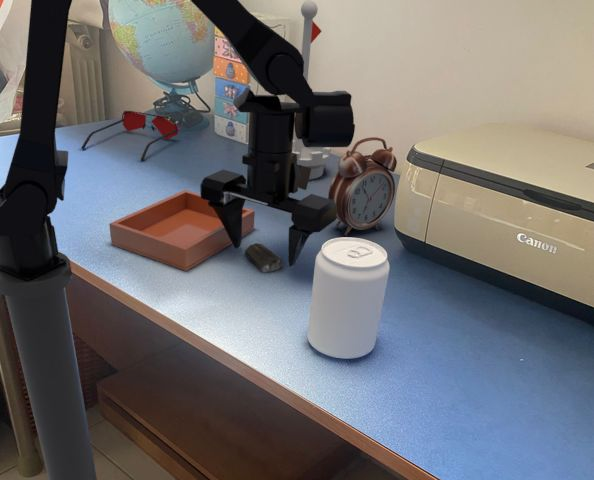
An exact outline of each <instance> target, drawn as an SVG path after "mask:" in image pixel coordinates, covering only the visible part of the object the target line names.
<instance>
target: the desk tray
mask: <svg viewBox="0 0 594 480" xmlns="http://www.w3.org/2000/svg"><path fill="white" fill-rule="evenodd" d="M255 214H256V212H255V210H254V209H251V208H247V207H244V206H243V209H242V238H243V237H245V236H247V235H249V234H250V233H251V232H253V231H255ZM108 225H109V234H110V244H111V245H112V246H116V247H117V248H121V249H123V250H126V251H129V252H130V253H131V252H132V253H134V254H137V255H140V256H142V257H146V258H148V259H150V260H153V261H157V262H160V263H162V264H165V265H168V266H170V267H173V268H175V269H179V270H182V271H185V272H188V271H189V270H191V269H192V268H194V267H196V266H198V265H199V264H201V263H203V262H204V261H206V260H208V259H209V258H210V257H212V256H214V255H215V254H217V253H219V252H220V251H222V250H223V249H226V248H227V247H228V246H230V245H233V244H232V242H231V240H230V238H229V236H228V234H227V232H226V230H225V228H224V226H223V224H222V222H221V221H220V219H219V217H218V216H217V214H216V212H215V211H214V209H213V208H212V207H210V206H208V200H205V199H201V197H200V193H197V192H194V191H191V190H187V189H184V190H181V191H179V192H177V193H175V194H172V195H170V196H168V197H166V198H164V199H161V200H159V201H156V202H154V203H152V204H150V205H147V206H145V207H143V208H141V209H138V210H136V211H134V212H132V213H129V214H127V215H125V216H123V217H120V218H119V219H116V220H113V221H111V222H109V224H108Z"/></svg>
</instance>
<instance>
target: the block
mask: <svg viewBox="0 0 594 480" xmlns="http://www.w3.org/2000/svg"><path fill="white" fill-rule="evenodd" d="M244 254H245V255H246V256H247V258H248V259H249V260H250V261H251V262H252V263H253V264H254V265H255V266H256V267H257V269H259V270H260V271H261V272H263V273H270V272H275V271H278V270H279V269H280V268H282V266H283V263H284V261H283V258H282V257H280V256H279V255H277V254H276V253H275V252H273V251H272V250H271V249H269V248H268V247H266V245H264V244H262V243H257V242H255V243H253V244H250V245H249V246H248V247H247V248H246V249H245V250H244Z"/></svg>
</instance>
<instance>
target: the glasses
mask: <svg viewBox="0 0 594 480" xmlns="http://www.w3.org/2000/svg"><path fill="white" fill-rule="evenodd" d="M147 116H151V117H152V116H153V117H154V118H153V119H151V121H150V122H151V123H152V125H150V128H151V130H152V131H153V132H155V131H156V130H158V132H159V133H160V135H161V136H159V137H157V138H156V139H154V140H151V141H150V142H149V143H147V145H145V148H144V150H143V153H142V155H141V157H140V161H141V162H143V161H144V160H145V157H146V155H147V152H148V150H149V148H150V146H151V145H152V144H154V143H156V142H158V141H160V140H162V139H164V140H166V141H167V140H169V139H171V138H173V137H176V136H178V134H179V131H180V127H179V125H177V123H176V122H175V121H174V119H173V118H170V117H167V116H162V115H160V114H158V115H157V114H151V113H145V112H142V111H140V112H139V111H133V110H124V111H123V112H122V114H121V119H119V120H118V121H116V122H113V123H110V124H108V125H106V126H103V127H101V128H98V129H96V130H94V131H92V132H90V133H89V134H88V136H87V137H86V139H85V141H84V142H83V144H82V146H81V150H85V148H86V147H87V144H88V143H89V141H90V139H91V138H92V136H94V134H96V133H99V132H101V131H103V130H106V129H109V128H111V127H113V126H115V125H118V124H120V123H122V126H123V127H124V129H125V130H126V132H131V131H136V130H139V129H142V130H144V129H145V128H146V121H147Z"/></svg>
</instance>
